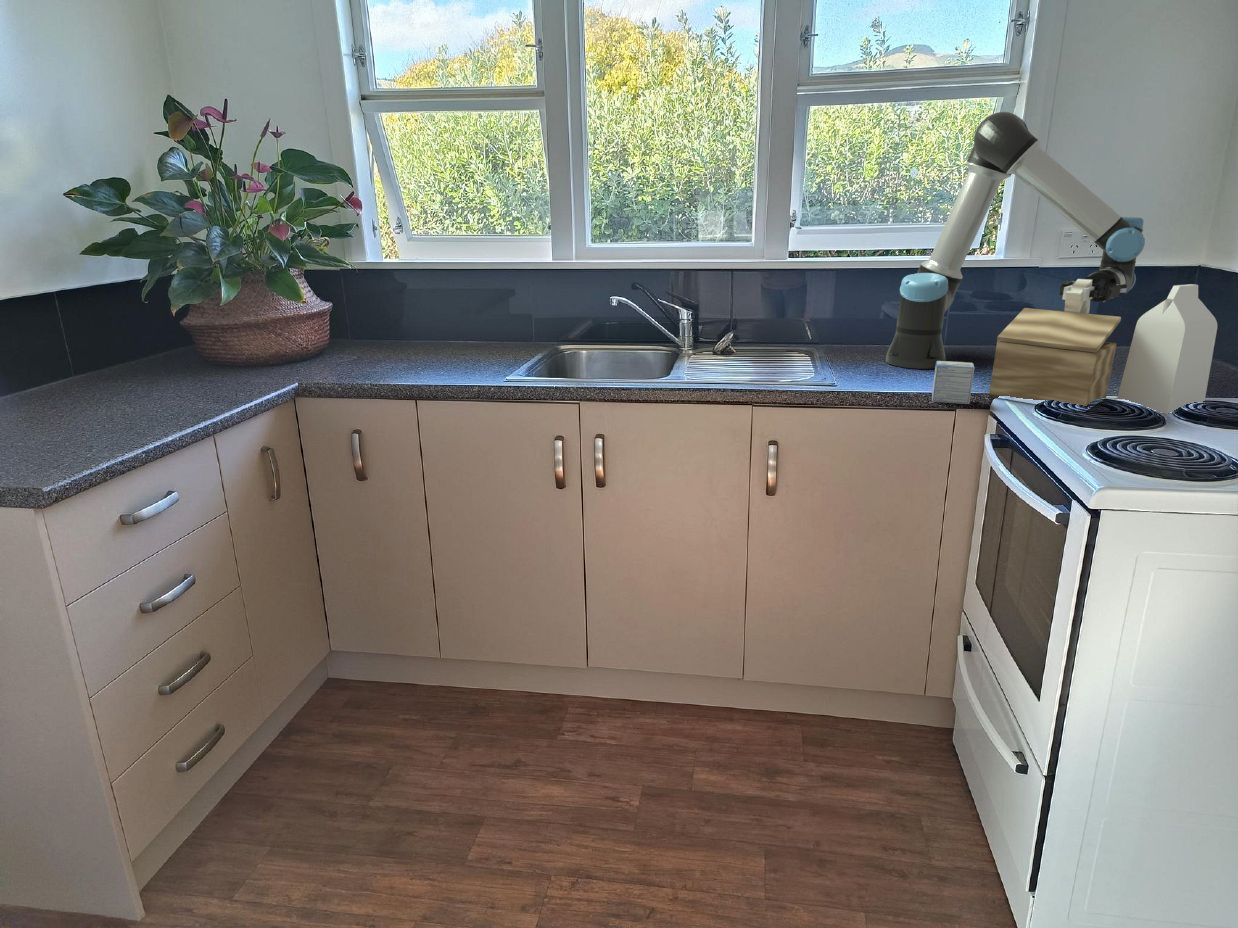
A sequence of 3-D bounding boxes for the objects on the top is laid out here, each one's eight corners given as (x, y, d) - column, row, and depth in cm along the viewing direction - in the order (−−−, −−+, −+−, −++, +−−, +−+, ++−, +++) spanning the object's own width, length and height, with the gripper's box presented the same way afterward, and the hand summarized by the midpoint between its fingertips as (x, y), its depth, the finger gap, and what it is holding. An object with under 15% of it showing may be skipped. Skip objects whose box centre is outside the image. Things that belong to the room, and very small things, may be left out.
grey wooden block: (968, 400, 182) (973, 362, 179) (969, 405, 178) (975, 366, 175) (931, 397, 185) (936, 360, 182) (931, 402, 181) (936, 364, 178)
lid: (1095, 363, 169) (1099, 328, 164) (996, 350, 182) (998, 318, 178) (1130, 316, 182) (1135, 282, 178) (1036, 307, 195) (1038, 276, 191)
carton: (1084, 413, 172) (1096, 353, 167) (988, 397, 185) (997, 341, 180) (1105, 399, 182) (1116, 343, 178) (1013, 385, 196) (1022, 332, 191)
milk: (1166, 414, 170) (1195, 289, 162) (1116, 401, 180) (1140, 283, 172) (1203, 408, 175) (1232, 286, 166) (1151, 396, 185) (1177, 281, 176)
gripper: (1137, 304, 193) (1110, 315, 177) (1064, 297, 203) (1033, 307, 187) (1144, 272, 190) (1118, 280, 174) (1070, 267, 201) (1038, 274, 185)
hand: (1074, 294), depth 181 cm, fingers closed on lid, 3 cm apart
